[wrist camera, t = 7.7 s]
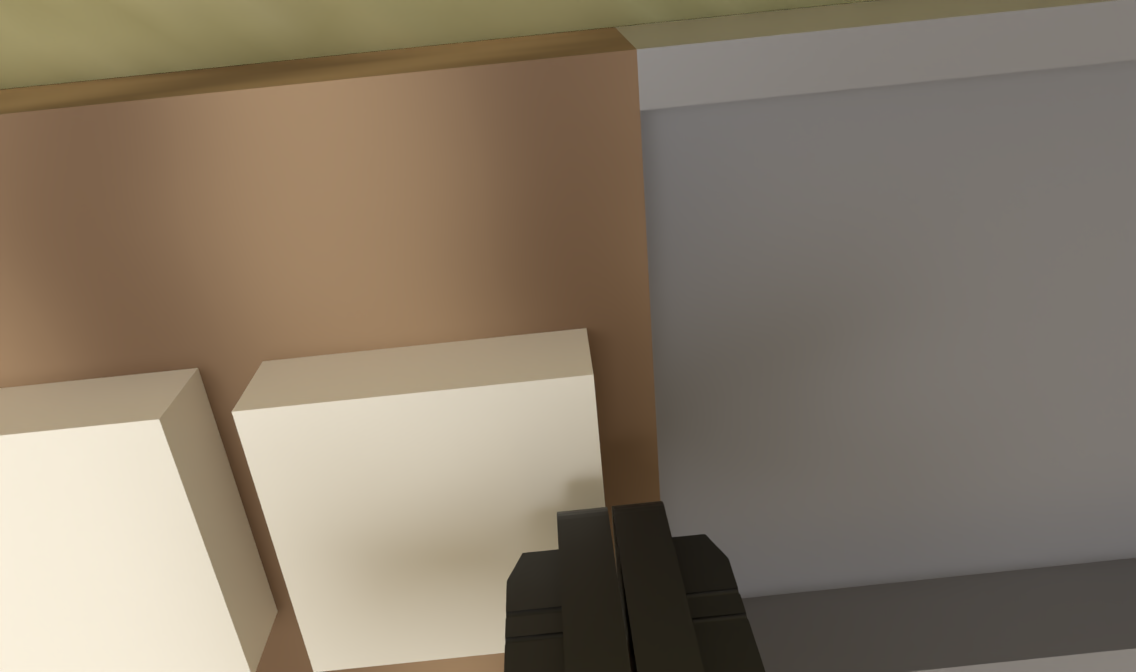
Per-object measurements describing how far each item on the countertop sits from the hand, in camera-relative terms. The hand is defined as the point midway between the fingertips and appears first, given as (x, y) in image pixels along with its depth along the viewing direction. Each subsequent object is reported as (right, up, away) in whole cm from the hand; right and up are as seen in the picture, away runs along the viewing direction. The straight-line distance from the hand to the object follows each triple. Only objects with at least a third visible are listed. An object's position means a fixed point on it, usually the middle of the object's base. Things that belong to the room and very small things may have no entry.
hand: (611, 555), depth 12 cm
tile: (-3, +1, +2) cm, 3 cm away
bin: (+8, +3, +5) cm, 10 cm away
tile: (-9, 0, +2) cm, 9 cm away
